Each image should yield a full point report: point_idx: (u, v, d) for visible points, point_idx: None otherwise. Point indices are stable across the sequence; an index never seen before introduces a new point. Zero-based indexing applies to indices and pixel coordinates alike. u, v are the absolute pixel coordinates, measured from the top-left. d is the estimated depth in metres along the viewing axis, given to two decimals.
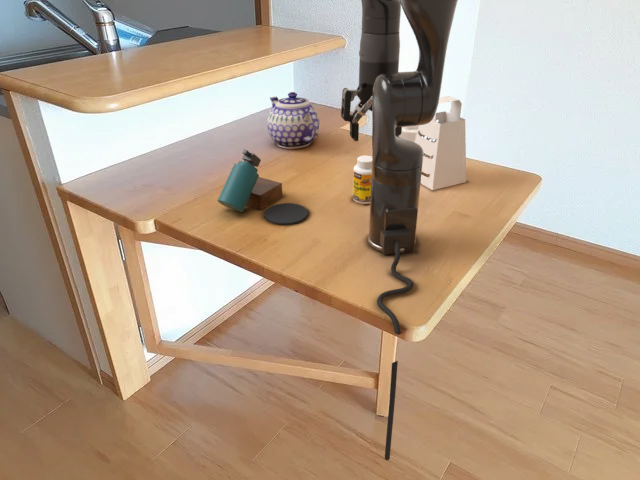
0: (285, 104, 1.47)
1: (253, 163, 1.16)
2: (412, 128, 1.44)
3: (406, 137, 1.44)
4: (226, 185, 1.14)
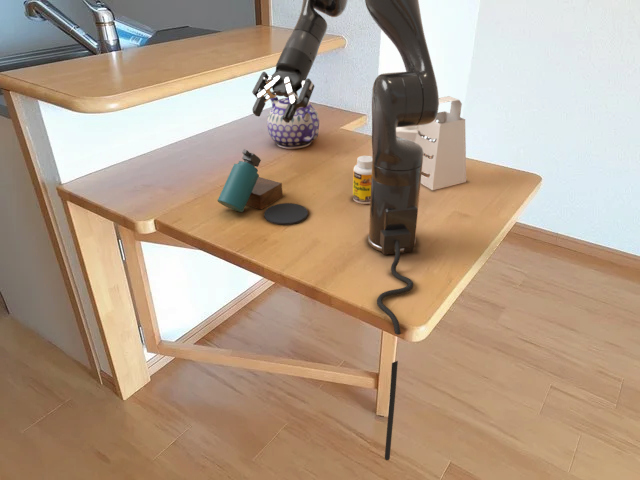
0: (285, 104, 1.47)
1: (253, 163, 1.16)
2: (412, 128, 1.44)
3: (406, 137, 1.44)
4: (226, 185, 1.14)
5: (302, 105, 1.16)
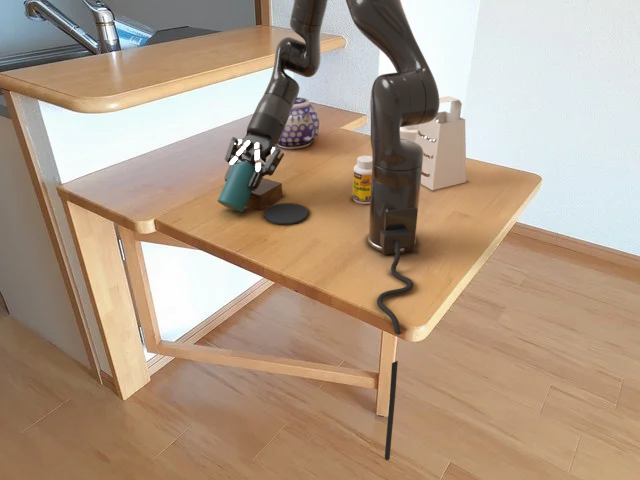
0: None
1: (253, 163, 1.16)
2: (412, 128, 1.44)
3: (406, 137, 1.44)
4: (226, 185, 1.14)
5: (267, 173, 1.14)
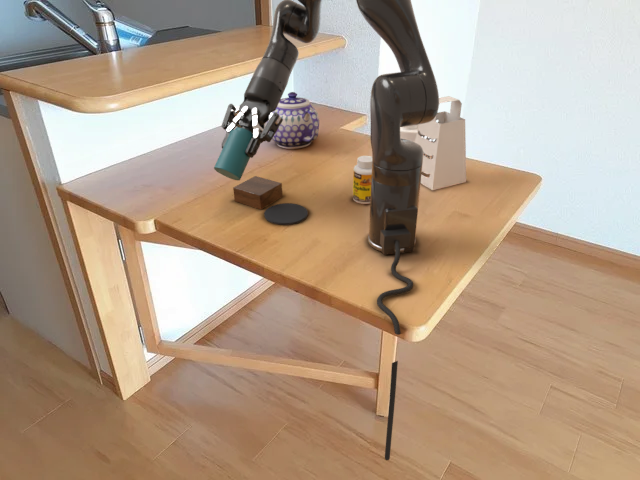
0: (285, 104, 1.47)
1: (250, 129, 1.12)
2: (412, 128, 1.44)
3: (406, 137, 1.44)
4: (223, 152, 1.10)
5: (265, 139, 1.10)
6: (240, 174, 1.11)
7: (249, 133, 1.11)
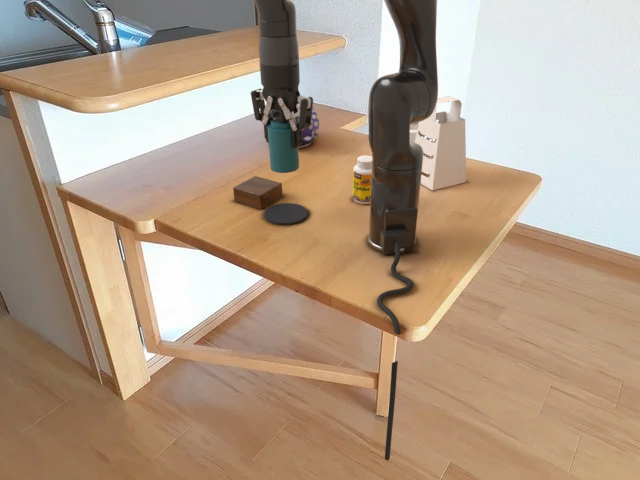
0: None
1: (285, 118, 1.04)
2: (412, 128, 1.44)
3: None
4: (271, 154, 1.07)
5: None
6: (297, 165, 1.09)
7: (286, 126, 1.04)
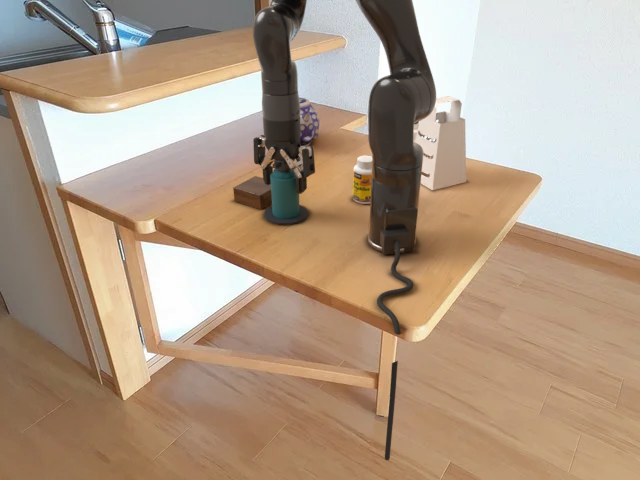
0: None
1: (287, 168, 1.10)
2: None
3: None
4: (273, 201, 1.13)
5: (310, 174, 1.08)
6: (298, 211, 1.15)
7: (288, 176, 1.10)
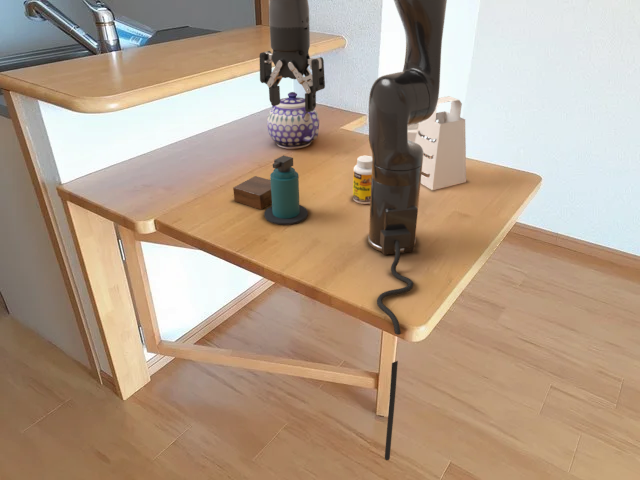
0: (285, 104, 1.47)
1: (287, 168, 1.10)
2: (412, 128, 1.44)
3: None
4: (273, 201, 1.13)
5: (320, 89, 1.02)
6: (298, 211, 1.15)
7: (288, 176, 1.10)
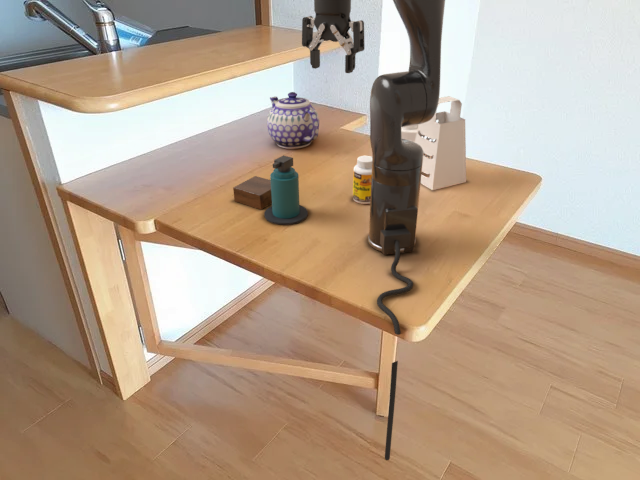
0: (285, 104, 1.47)
1: (287, 168, 1.10)
2: (412, 128, 1.44)
3: (406, 137, 1.44)
4: (273, 201, 1.13)
5: None
6: (298, 211, 1.15)
7: (288, 176, 1.10)
